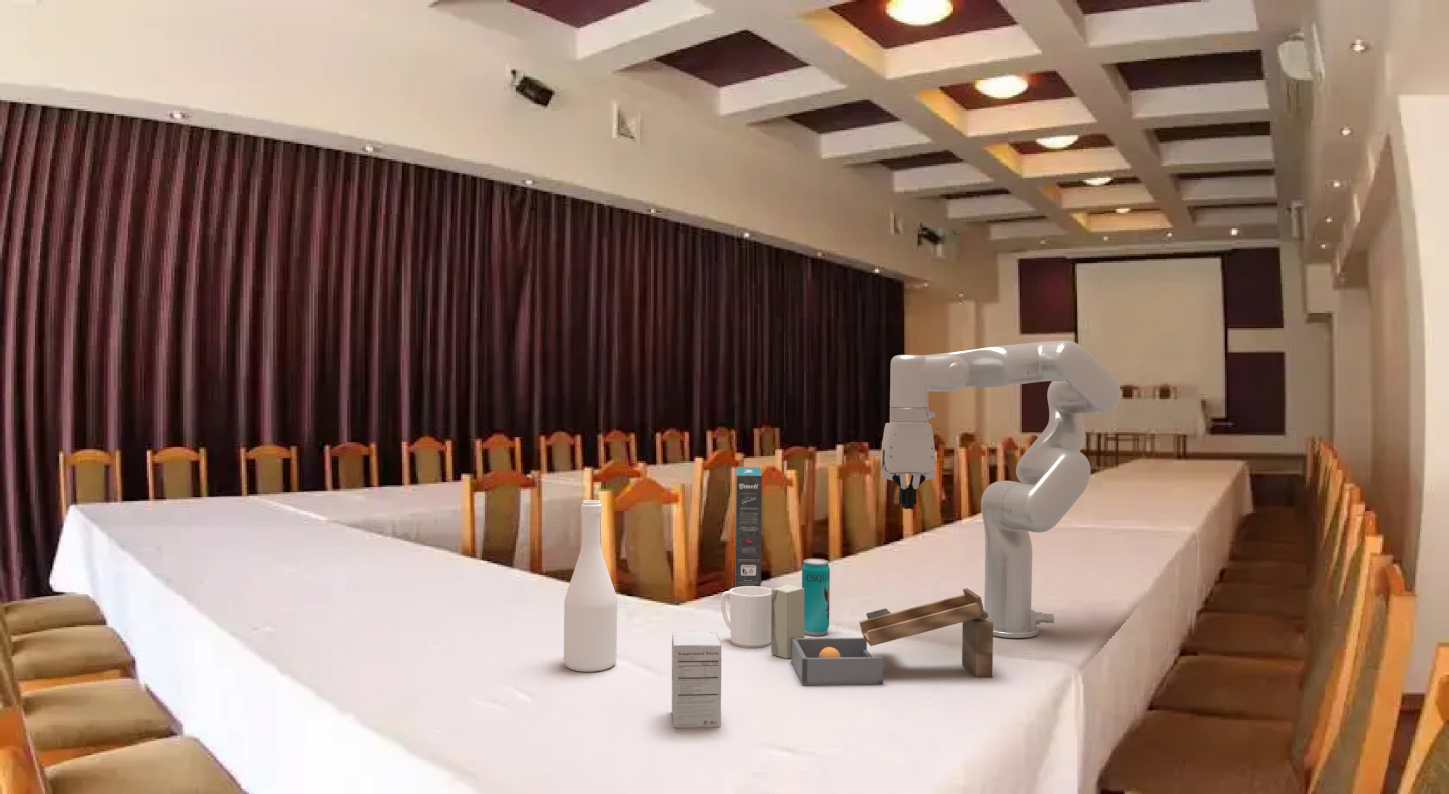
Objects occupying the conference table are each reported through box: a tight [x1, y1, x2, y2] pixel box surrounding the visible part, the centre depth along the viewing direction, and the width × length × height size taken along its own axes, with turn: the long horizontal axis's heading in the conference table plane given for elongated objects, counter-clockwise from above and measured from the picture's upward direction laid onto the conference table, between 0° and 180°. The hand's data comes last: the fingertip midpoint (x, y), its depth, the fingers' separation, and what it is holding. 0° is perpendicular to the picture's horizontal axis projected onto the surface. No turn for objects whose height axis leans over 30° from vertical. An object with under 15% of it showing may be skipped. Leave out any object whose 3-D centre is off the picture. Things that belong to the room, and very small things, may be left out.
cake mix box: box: [734, 466, 763, 588], centre depth 229 cm, size 22×6×30 cm, turn 179°
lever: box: [858, 587, 988, 647], centre depth 171 cm, size 22×16×4 cm
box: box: [770, 584, 805, 660], centre depth 176 cm, size 5×4×13 cm
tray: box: [790, 637, 884, 686], centre depth 165 cm, size 14×13×4 cm
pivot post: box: [961, 617, 994, 679], centre depth 168 cm, size 3×8×12 cm, turn 4°
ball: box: [819, 647, 841, 658], centre depth 165 cm, size 4×4×4 cm
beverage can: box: [801, 558, 831, 637], centre depth 192 cm, size 6×6×15 cm
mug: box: [719, 586, 772, 649], centre depth 185 cm, size 11×9×10 cm
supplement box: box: [671, 631, 722, 729], centre depth 142 cm, size 7×7×13 cm
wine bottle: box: [563, 499, 618, 673], centre depth 168 cm, size 10×10×30 cm
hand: (907, 508), depth 185 cm, fingers closed
